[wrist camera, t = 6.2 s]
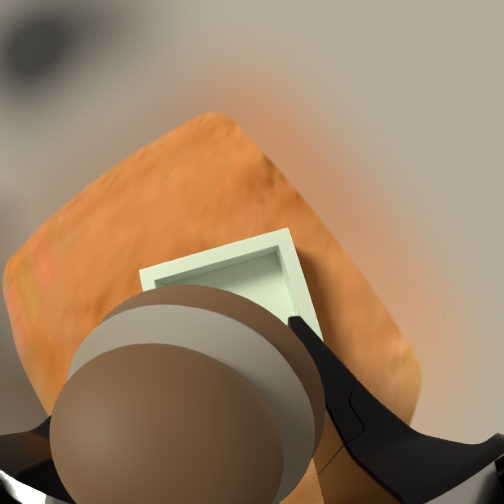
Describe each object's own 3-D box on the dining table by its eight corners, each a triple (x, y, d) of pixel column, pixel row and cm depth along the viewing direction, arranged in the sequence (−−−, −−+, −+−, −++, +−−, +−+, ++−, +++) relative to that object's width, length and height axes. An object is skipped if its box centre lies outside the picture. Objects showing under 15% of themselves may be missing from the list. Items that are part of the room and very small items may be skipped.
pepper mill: (273, 385, 15) (340, 607, 1) (195, 380, 15) (19, 534, 1) (277, 309, 16) (438, 249, 2) (198, 305, 16) (-33, 231, 2)
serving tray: (327, 390, 20) (340, 402, 16) (198, 424, 19) (189, 441, 16) (282, 240, 22) (287, 227, 19) (155, 277, 22) (138, 270, 18)
